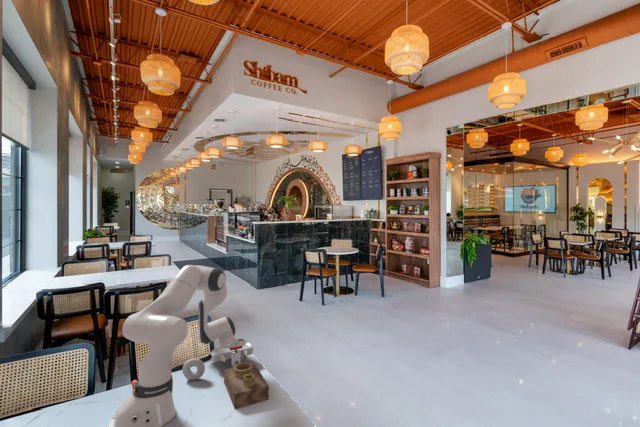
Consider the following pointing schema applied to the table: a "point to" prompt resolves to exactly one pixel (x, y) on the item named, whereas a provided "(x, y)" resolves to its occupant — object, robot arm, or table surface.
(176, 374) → the table surface
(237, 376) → the manifold block
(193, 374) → the donut
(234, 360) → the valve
